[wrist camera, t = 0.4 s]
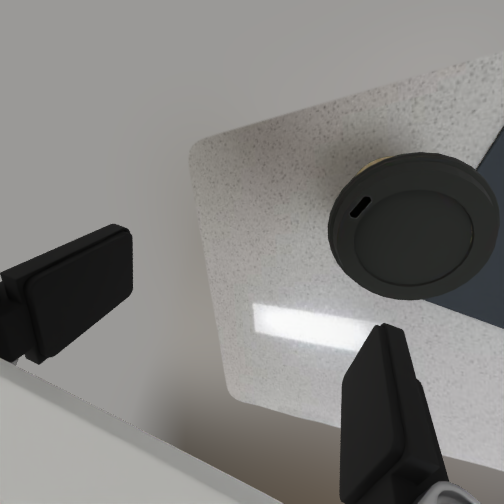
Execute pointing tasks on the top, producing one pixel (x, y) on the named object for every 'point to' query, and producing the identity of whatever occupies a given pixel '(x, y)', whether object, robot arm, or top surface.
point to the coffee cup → (414, 225)
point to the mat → (499, 264)
